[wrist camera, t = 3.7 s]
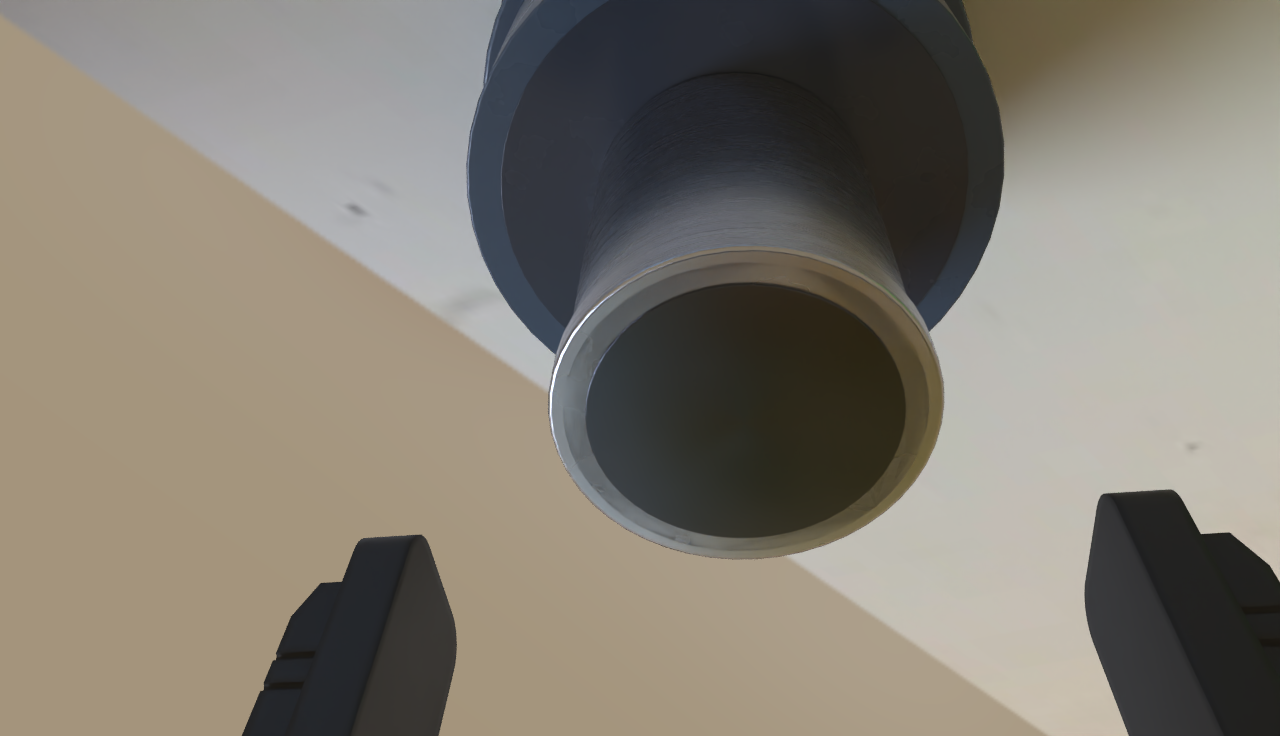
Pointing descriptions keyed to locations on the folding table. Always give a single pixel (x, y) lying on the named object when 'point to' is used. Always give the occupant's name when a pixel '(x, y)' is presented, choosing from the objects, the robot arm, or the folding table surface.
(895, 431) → the silver cup
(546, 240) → the grey stepped cylinder
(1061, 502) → the folding table surface
